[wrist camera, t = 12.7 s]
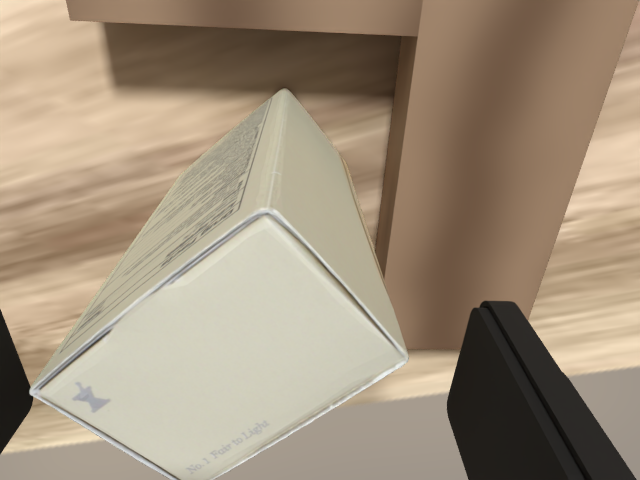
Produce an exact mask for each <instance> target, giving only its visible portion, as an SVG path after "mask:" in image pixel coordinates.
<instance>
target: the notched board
mask: <svg viewBox="0 0 640 480" xmlns="http://www.w3.org/2000/svg"><path fill="white" fill-rule="evenodd" d="M66 2H67V7H68V12H69V17H70V20H71V21H93V22H114V23H136V24H158V25H180V26H201V27H223V28H245V29H266V30H288V31H310V32H331V33H353V34H375V35H397V36H401V44H400V53H399V61H398V69H397V77H396V86H395V94H394V102H393V110H392V118H391V127H390V135H389V143H388V151H387V159H386V168H385V176H384V184H383V192H382V200H381V209H380V217H379V225H378V233H377V241H376V250H375V254H376V257H377V259H378V263H379V266H380V269H381V272H382V275H383V278H384V281H385V284H386V287H387V291H388V294H389V297H390V300H391V304H392V307H393V309H394V312H395V316H396V318H397V321H398V324H399V327H400V330H401V334H402V337H403V340H404V343H405V346H406V349H461V347H462V343H463V339H464V336H465V332H466V328H467V324H468V321H469V317H470V313H471V311H472V309H473V308H479V307H480V304H481V303H482V302H483V301H512V302H515V303H516V304H517V305H518V307H519V308H520V310H521V311H522V313H523V314H524V316H525V317H526V319H527V320H528V319H529V316H530V313H531V310H532V307H533V304H534V302H535V299H536V296H537V293H538V290H539V287H540V284H541V281H542V278H543V276H544V273H545V270H546V267H547V264H548V261H549V258H550V255H551V253H552V250H553V247H554V244H555V241H556V238H557V235H558V232H559V230H560V227H561V224H562V221H563V218H564V215H565V212H566V209H567V206H568V204H569V201H570V198H571V195H572V192H573V189H574V186H575V183H576V181H577V178H578V175H579V172H580V169H581V166H582V163H583V160H584V157H585V155H586V152H587V149H588V146H589V143H590V140H591V137H592V134H593V132H594V129H595V126H596V123H597V120H598V117H599V114H600V111H601V108H602V106H603V103H604V100H605V97H606V94H607V91H608V88H609V85H610V83H611V80H612V77H613V74H614V71H615V68H616V65H617V62H618V60H619V57H620V54H621V51H622V48H623V45H624V42H625V39H626V36H627V34H628V31H629V28H630V25H631V22H632V19H633V16H634V13H635V11H636V8H637V5H638V2H639V0H66Z"/></svg>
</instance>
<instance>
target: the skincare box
mask: <svg viewBox="0 0 640 480" xmlns="http://www.w3.org/2000/svg"><path fill="white" fill-rule="evenodd" d="M408 359H409V356H408V352H407V349H406V346H405V343H404V340H403V337H402V334H401V330H400V327H399V324H398V321H397V318H396V316H395V312H394V309H393V307H392V304H391V300H390V297H389V294H388V291H387V287H386V284H385V281H384V278H383V275H382V272H381V269H380V266H379V263H378V259H377V257H376V254H375V250H374V247H373V244H372V241H371V238H370V235H369V232H368V229H367V226H366V222H365V219H364V216H363V213H362V210H361V208H360V204H359V201H358V198H357V195H356V192H355V189H354V185H353V182H352V179H351V175H350V172H349V169H348V166H347V163H346V162H345V161H344V159H343V158H342V157H341V156H340V154H339V153H338V151H337V150H336V149H335V147H334V146H333V145H332V143H331V142H330V141H329V139H328V138H327V137H326V135H325V134H324V133H323V132H322V130H321V129H320V128H319V127H318V125H317V124H316V123H315V121H314V120H313V119H312V118H311V116H310V115H309V114H308V112H307V111H306V110H305V109H304V108H303V106H302V105H301V104H300V103H299V101H298V100H297V99H296V98H295V97H294V95H293V94H292V93H291V92H290V91H289V90H288V89H286V88H283V89H281V90H279V91H278V92H277V93H276V94H275V95H273V96H272V97H271V98H270V99H268V100H267V101H266V102H264V103H263V104H262V105H261V106H260V107H258V108H257V109H256V110H255V111H253V112H252V113H251V114H250V115H249V116H247V117H246V118H245V119H244V120H243V121H241V122H240V123H239V124H238V125H237V126H235V127H234V128H233V129H232V130H231V131H230V132H228V133H227V134H226V135H225V136H224V137H223V138H221V139H220V140H219V141H218V142H217V143H215V144H214V145H213V146H212V147H211V148H210V149H209V150H208V151H206V152H205V153H204V154H203V155H202V156H201V157H200V158H198V159H197V160H196V161H195V162H194V163H193V164H192V165H191V166H190V167H188V168H187V169H186V170H185V171H184V172H183V173H182V174H181V175H180V176H179V177H178V178H177V180H176V181H175V183H174V184H173V186H172V187H171V189H170V190H169V191H168V193H167V194H166V196H165V197H164V199H163V200H162V201H161V203H160V204H159V206H158V207H157V208H156V210H155V211H154V213H153V214H152V215H151V217H150V218H149V220H148V221H147V223H146V224H145V225H144V227H143V228H142V230H141V231H140V233H139V234H138V235H137V237H136V238H135V240H134V241H133V243H132V244H131V245H130V247H129V248H128V250H127V251H126V252H125V254H124V255H123V257H122V258H121V259H120V261H119V262H118V264H117V265H116V267H115V268H114V269H113V271H112V272H111V274H110V275H109V276H108V278H107V279H106V281H105V282H104V284H103V285H102V286H101V288H100V289H99V291H98V292H97V293H96V295H95V296H94V298H93V299H92V300H91V302H90V303H89V305H88V306H87V308H86V309H85V311H84V312H83V313H82V315H81V316H80V318H79V319H78V320H77V322H76V323H75V325H74V326H73V328H72V329H71V330H70V332H69V333H68V334H67V336H66V337H65V339H64V340H63V341H62V343H61V344H60V346H59V347H58V349H57V350H56V352H55V353H54V354H53V356H52V357H51V359H50V360H49V362H48V363H47V364H46V366H45V367H44V369H43V370H42V372H41V373H40V374H39V376H38V377H37V379H36V380H35V381H34V383H33V384H32V386H31V388H30V390H29V394H30V395H31V396H33V397H35V398H37V399H39V400H41V401H42V402H44V403H46V404H48V405H50V406H52V407H53V408H54V409H56V410H57V411H59V412H60V413H62V414H64V415H65V416H67V417H68V418H70V419H71V420H73V421H75V422H77V423H79V424H80V425H81V426H83V427H84V428H86V429H88V430H90V431H91V432H93V433H94V434H96V435H97V436H99V437H100V438H102V439H104V440H106V441H107V442H109V443H110V444H112V445H114V446H115V447H117V448H118V449H120V450H122V451H124V452H125V453H127V454H129V455H131V456H132V457H133V458H135V459H136V460H138V461H139V462H141V463H143V464H144V465H146V466H148V467H150V468H152V469H154V470H156V471H157V472H159V473H160V474H162V475H163V476H165V477H167V478H169V479H170V480H214V479H216V478H217V477H219V476H221V475H223V474H225V473H226V472H228V471H230V470H232V469H233V468H235V467H237V466H239V465H240V464H242V463H243V462H245V461H247V460H249V459H250V458H252V457H254V456H256V455H257V454H259V453H260V452H262V451H263V450H265V449H268V448H269V447H271V446H272V445H274V444H276V443H277V442H279V441H281V440H283V439H284V438H286V437H288V436H289V435H291V434H292V433H294V432H295V431H297V430H299V429H300V428H302V427H304V426H306V425H308V424H310V423H312V422H313V421H314V420H315V419H317V418H319V417H320V416H322V415H324V414H325V413H327V412H329V411H330V410H332V409H334V408H336V407H337V406H339V405H340V404H342V403H344V402H345V401H347V400H348V399H350V398H351V397H353V396H354V395H356V394H358V393H360V392H361V391H363V390H365V389H366V388H368V387H369V386H371V385H373V384H374V383H376V382H378V381H379V380H381V379H383V378H384V377H386V376H387V375H389V374H390V373H392V372H394V371H395V370H396V369H398V368H400V367H402V366H403V365H404V364H406V363H407V362H408Z"/></svg>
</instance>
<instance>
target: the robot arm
mask: <svg viewBox="0 0 640 480" xmlns="http://www.w3.org/2000/svg"><path fill="white" fill-rule="evenodd" d="M30 388H31V387H30V384H29V382H28V379H27V377H26V374H25V372H24V369H23V366H22V364H21V361H20V359H19V356H18V354H17V351H16V348H15V346H14V343H13V341H12V338H11V336H10V333H9V330H8V328H7V325H6V323H5V320H4V317H3V315H2V312H1V310H0V454H1V452H2V451H3V449H4V448H5V447H6V445H7V444H8V442H9V441H10V439H11V438H12V436H13V435H14V433H15V432H16V430H17V429H18V427H19V426H20V424H21V423H22V421H23V420H24V418H25V417H26V416H27V414H28V413H29V411H30V409H31V406H32V402H33V396H31V395H30V394H29V390H30ZM447 413H448V418H449V421H450V424H451V427H452V430H453V433H454V436H455V439H456V442H457V445H458V448H459V452H460V455H461V458H462V461H463V464H464V467H465V470H466V473H467V476H468V479H469V480H636V478H635V477H634V475H633V474H632V472H631V471H630V469H629V468H628V467H627V465H626V463H625V462H624V460H623V459H622V458H621V456H620V454H619V453H618V451H617V450H616V448H615V447H614V446H613V444H612V442H611V441H610V439H609V438H608V437H607V435H606V433H605V432H604V431H603V429H602V428H601V426H600V425H599V423H598V422H597V420H596V419H595V417H594V416H593V414H592V413H591V411H590V410H589V408H588V407H587V405H586V404H585V403H584V401H583V399H582V398H581V396H580V395H579V393H578V392H577V390H576V389H575V388H574V386H573V385H572V383H571V382H570V380H569V379H568V378H567V376H566V375H565V374H564V373H563V372H562V371H561V370H560V368H559V367H558V365H557V364H556V362H555V361H554V359H553V358H552V356H551V355H550V353H549V352H548V350H547V349H546V347H545V346H544V344H543V343H542V341H541V340H540V338H539V337H538V335H537V334H536V332H535V331H534V329H533V328H532V326H531V325H530V323H529V322H528V320H527V319H526V317H525V316H524V314H523V313H522V311H521V310H520V308H519V307H518V305H517V304H516V303H515V302H512V301H483V302H482V303H481V304H480V307H479V308H473V309H472V311H471V313H470V317H469V321H468V324H467V328H466V332H465V336H464V339H463V343H462V347H461V351H460V354H459V358H458V362H457V366H456V369H455V373H454V377H453V381H452V384H451V388H450V392H449V396H448V400H447Z"/></svg>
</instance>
